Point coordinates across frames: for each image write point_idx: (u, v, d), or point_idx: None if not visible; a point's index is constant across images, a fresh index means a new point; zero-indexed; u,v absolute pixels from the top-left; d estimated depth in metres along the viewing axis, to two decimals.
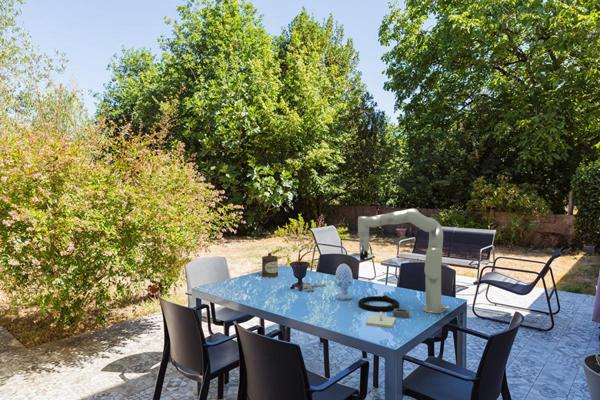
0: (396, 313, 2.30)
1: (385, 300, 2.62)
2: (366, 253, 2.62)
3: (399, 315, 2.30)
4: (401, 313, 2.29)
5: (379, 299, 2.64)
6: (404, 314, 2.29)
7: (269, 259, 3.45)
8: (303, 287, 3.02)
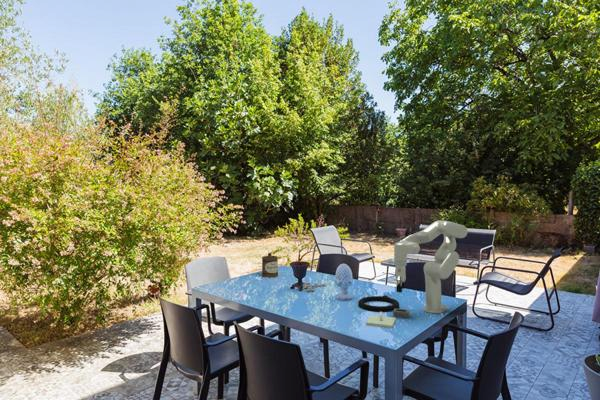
0: (396, 313, 2.30)
1: (385, 300, 2.62)
2: (402, 283, 2.36)
3: (399, 315, 2.30)
4: (401, 313, 2.29)
5: (379, 299, 2.64)
6: (404, 314, 2.29)
7: (269, 259, 3.45)
8: (303, 287, 3.02)
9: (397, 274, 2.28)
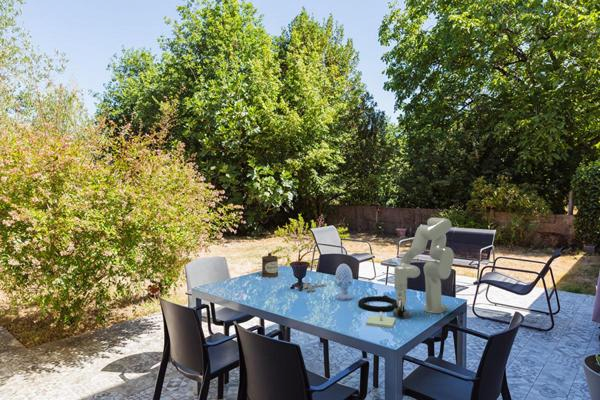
0: (396, 313, 2.30)
1: (385, 300, 2.62)
2: (403, 308, 2.35)
3: None
4: None
5: (379, 299, 2.64)
6: (404, 314, 2.29)
7: (269, 259, 3.45)
8: (304, 287, 3.02)
9: (398, 298, 2.28)
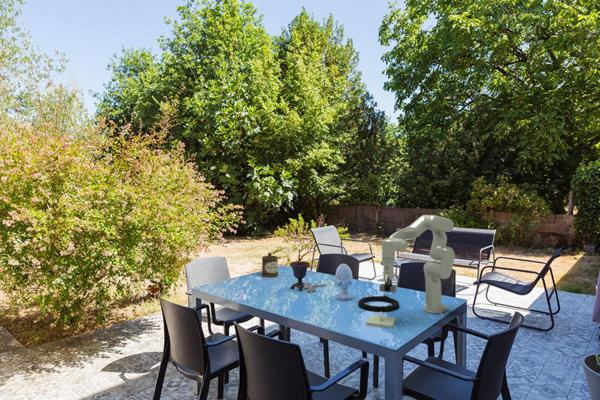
0: (383, 287, 2.23)
1: (385, 300, 2.62)
2: (390, 283, 2.27)
3: None
4: None
5: (379, 299, 2.64)
6: (391, 288, 2.21)
7: (269, 259, 3.45)
8: (304, 287, 3.01)
9: (384, 272, 2.21)
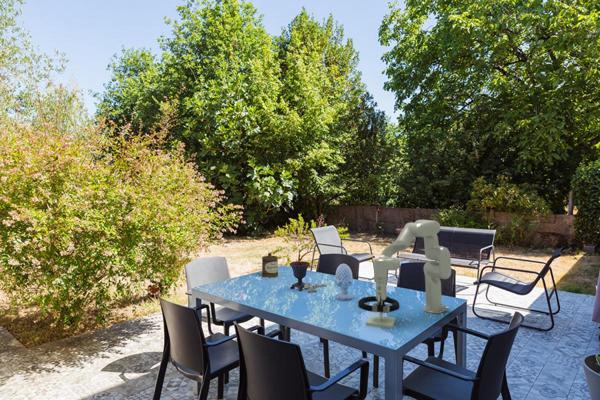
0: (376, 307, 2.19)
1: (385, 300, 2.62)
2: (383, 303, 2.23)
3: None
4: None
5: None
6: (384, 309, 2.17)
7: (269, 259, 3.45)
8: (305, 287, 3.01)
9: (377, 292, 2.17)
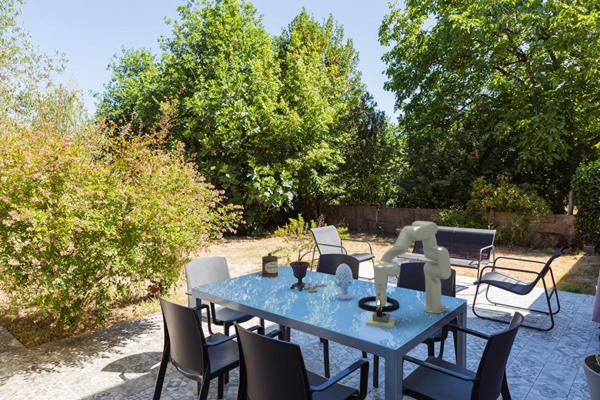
0: (376, 317, 2.19)
1: None
2: (383, 307, 2.25)
3: (379, 319, 2.19)
4: None
5: None
6: (384, 318, 2.17)
7: (269, 259, 3.45)
8: (305, 288, 3.01)
9: (377, 298, 2.17)
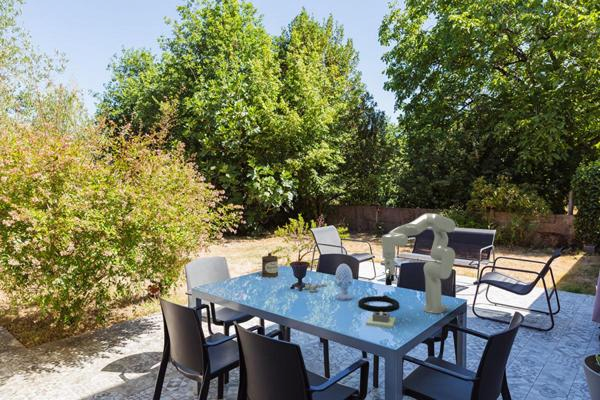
0: (376, 317, 2.19)
1: (385, 300, 2.62)
2: (392, 276, 2.30)
3: (379, 319, 2.19)
4: (381, 317, 2.18)
5: (379, 299, 2.64)
6: (384, 318, 2.17)
7: (269, 259, 3.45)
8: (306, 288, 3.00)
9: (386, 267, 2.22)
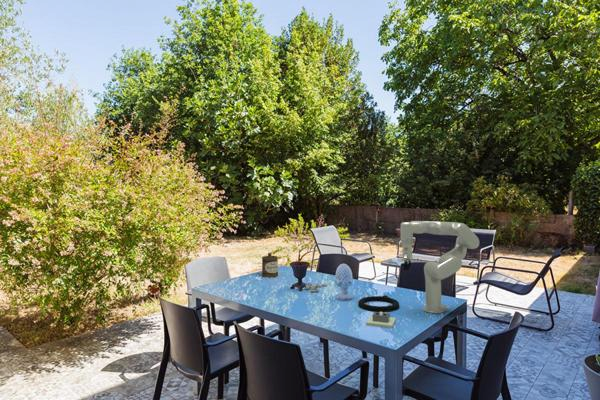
0: (376, 317, 2.19)
1: (385, 300, 2.62)
2: (409, 262, 2.42)
3: (379, 319, 2.19)
4: (381, 317, 2.18)
5: (379, 299, 2.64)
6: (384, 318, 2.17)
7: (269, 259, 3.45)
8: (306, 288, 3.00)
9: (404, 252, 2.34)
